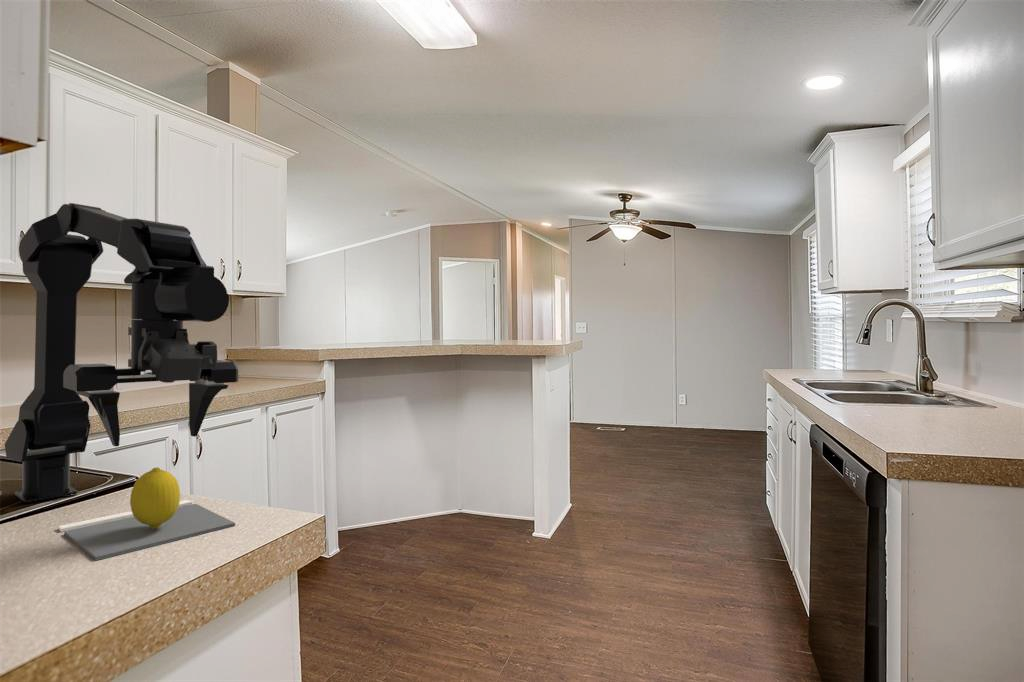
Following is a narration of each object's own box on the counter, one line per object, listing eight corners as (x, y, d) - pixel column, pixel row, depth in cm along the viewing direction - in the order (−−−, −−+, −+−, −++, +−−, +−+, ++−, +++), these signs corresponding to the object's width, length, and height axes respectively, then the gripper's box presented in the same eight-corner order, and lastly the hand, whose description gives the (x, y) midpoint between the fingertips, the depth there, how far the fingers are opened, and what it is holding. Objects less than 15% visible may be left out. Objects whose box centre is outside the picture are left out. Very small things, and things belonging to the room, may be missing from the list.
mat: (64, 534, 75) (64, 531, 75) (195, 506, 88) (195, 503, 88) (96, 560, 68) (96, 557, 68) (235, 525, 80) (235, 522, 80)
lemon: (157, 538, 74) (157, 474, 74) (119, 533, 75) (119, 471, 75) (189, 523, 79) (190, 464, 79) (153, 519, 80) (154, 461, 80)
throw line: (57, 529, 77) (57, 526, 77) (187, 502, 89) (187, 499, 89) (61, 531, 76) (61, 528, 76) (192, 504, 89) (192, 501, 89)
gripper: (93, 319, 64) (92, 463, 65) (259, 322, 79) (257, 440, 79) (62, 318, 71) (61, 447, 72) (219, 321, 86) (218, 428, 86)
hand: (156, 440), depth 77 cm, fingers open, 9 cm apart
